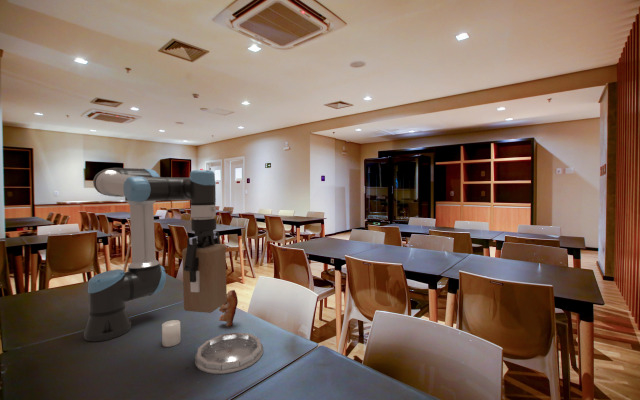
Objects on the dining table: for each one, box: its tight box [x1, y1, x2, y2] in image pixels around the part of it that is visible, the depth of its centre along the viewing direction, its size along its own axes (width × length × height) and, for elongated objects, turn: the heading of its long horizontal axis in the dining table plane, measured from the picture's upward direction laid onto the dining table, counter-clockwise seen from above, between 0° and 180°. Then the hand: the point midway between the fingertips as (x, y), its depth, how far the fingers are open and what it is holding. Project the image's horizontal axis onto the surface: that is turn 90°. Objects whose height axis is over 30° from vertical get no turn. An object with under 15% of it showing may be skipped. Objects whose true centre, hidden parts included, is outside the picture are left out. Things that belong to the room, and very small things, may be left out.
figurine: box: [218, 289, 239, 327], centre depth 123 cm, size 6×8×15 cm
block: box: [181, 243, 228, 314], centre depth 98 cm, size 10×10×20 cm
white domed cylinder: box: [161, 319, 182, 348], centre depth 110 cm, size 6×6×7 cm
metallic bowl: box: [194, 332, 264, 375], centre depth 102 cm, size 22×22×2 cm
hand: (205, 286), depth 98 cm, fingers closed on block, 10 cm apart
